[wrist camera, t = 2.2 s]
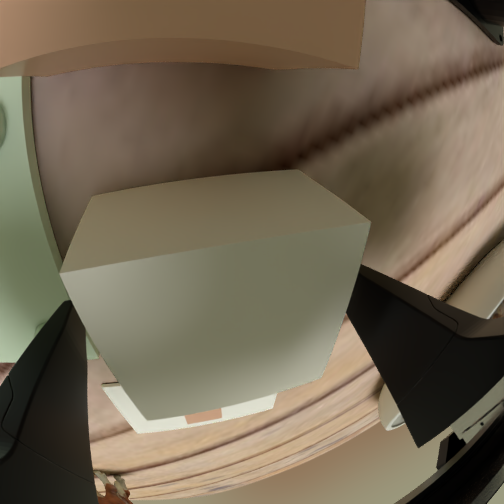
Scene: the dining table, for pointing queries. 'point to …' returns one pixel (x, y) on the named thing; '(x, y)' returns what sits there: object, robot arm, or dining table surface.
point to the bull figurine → (113, 490)
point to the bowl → (467, 299)
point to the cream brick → (215, 286)
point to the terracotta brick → (178, 33)
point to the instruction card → (197, 419)
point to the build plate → (25, 231)
